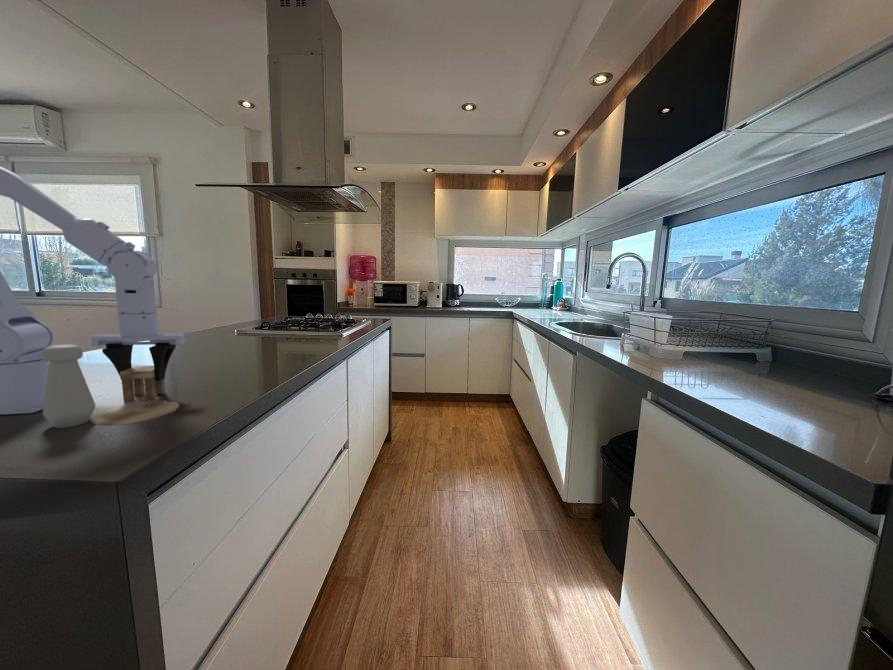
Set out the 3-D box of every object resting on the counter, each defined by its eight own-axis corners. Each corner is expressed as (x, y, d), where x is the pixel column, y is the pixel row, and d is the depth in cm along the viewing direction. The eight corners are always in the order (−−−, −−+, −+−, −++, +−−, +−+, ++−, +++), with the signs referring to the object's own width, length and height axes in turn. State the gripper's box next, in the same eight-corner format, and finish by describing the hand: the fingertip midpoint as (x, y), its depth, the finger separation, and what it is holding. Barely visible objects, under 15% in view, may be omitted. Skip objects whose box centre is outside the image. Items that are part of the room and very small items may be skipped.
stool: (122, 402, 67) (119, 372, 66) (137, 394, 72) (135, 366, 71) (153, 400, 68) (150, 371, 68) (166, 392, 73) (163, 365, 72)
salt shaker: (106, 417, 59) (98, 343, 58) (67, 431, 54) (56, 349, 52) (76, 415, 60) (67, 341, 58) (33, 429, 54) (22, 347, 52)
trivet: (70, 429, 55) (70, 426, 55) (118, 404, 67) (118, 402, 67) (159, 423, 58) (159, 421, 58) (190, 400, 70) (190, 398, 70)
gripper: (76, 314, 62) (84, 387, 64) (171, 314, 66) (176, 383, 68) (102, 311, 69) (109, 377, 71) (187, 312, 73) (192, 374, 75)
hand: (143, 380), depth 70 cm, fingers closed on stool, 5 cm apart
